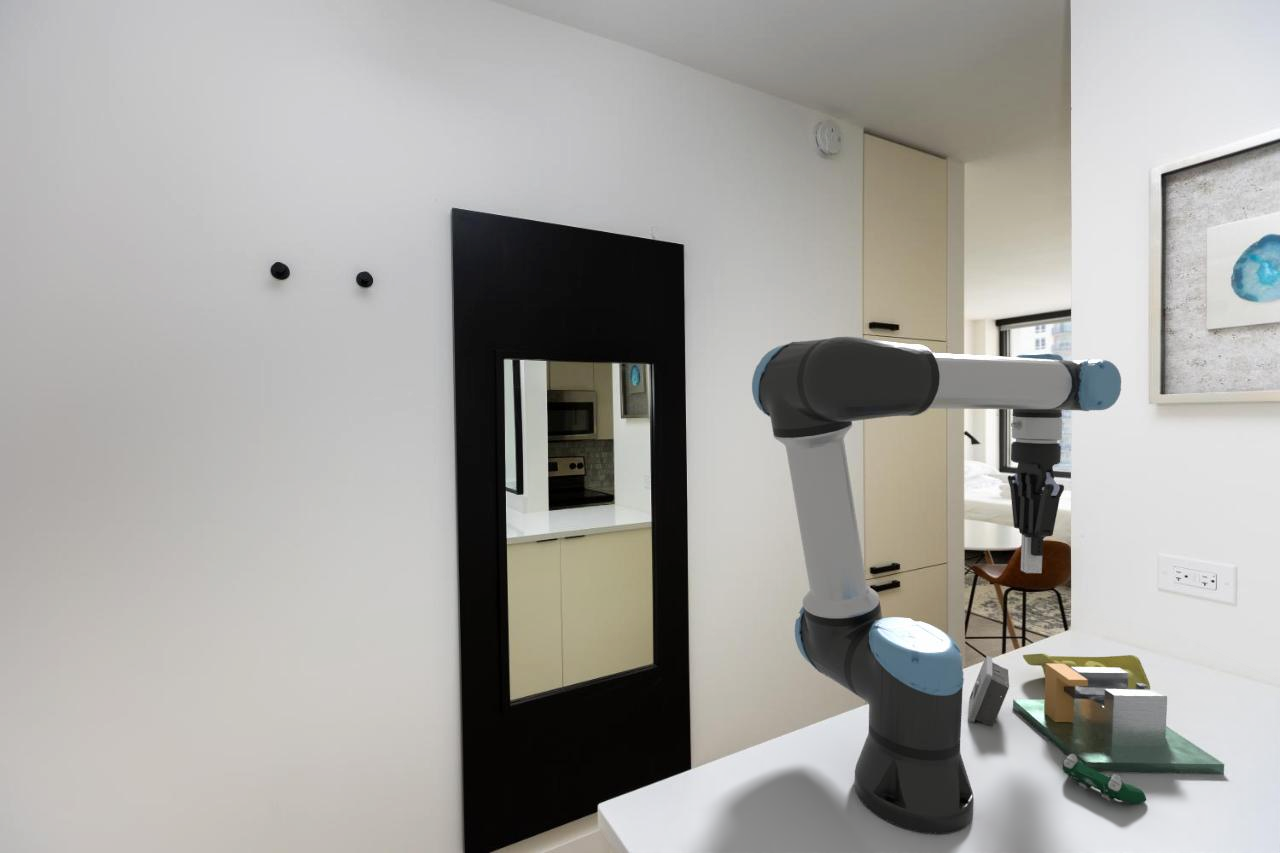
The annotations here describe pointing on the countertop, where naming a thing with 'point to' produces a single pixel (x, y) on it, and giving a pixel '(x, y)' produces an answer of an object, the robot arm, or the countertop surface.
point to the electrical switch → (988, 693)
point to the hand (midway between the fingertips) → (1031, 571)
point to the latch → (1060, 692)
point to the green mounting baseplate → (1120, 729)
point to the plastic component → (1096, 665)
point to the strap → (1089, 692)
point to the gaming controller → (1102, 782)
